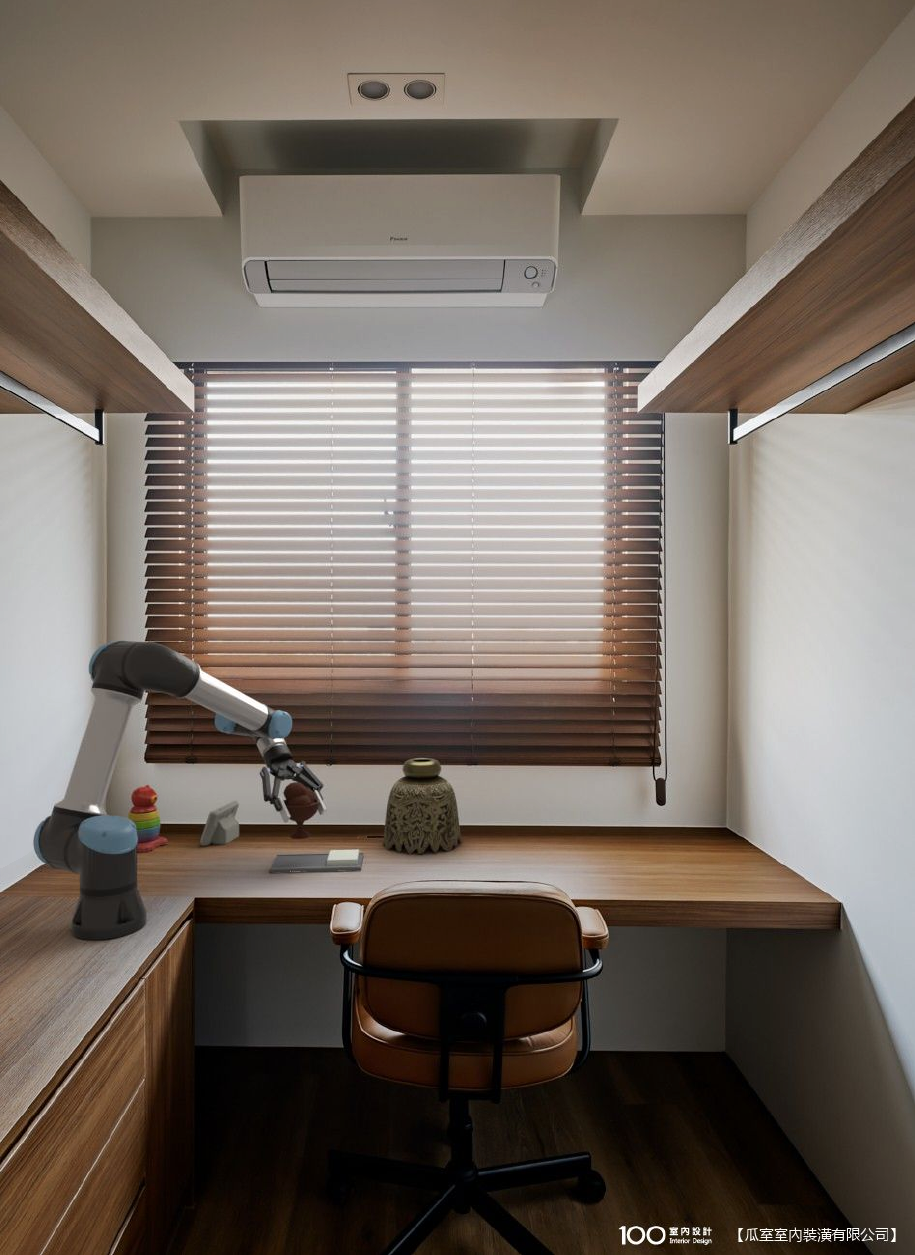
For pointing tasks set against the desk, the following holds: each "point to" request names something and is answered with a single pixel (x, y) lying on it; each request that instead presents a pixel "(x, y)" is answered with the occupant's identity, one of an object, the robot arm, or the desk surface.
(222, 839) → the digital clock
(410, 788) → the lamp shade
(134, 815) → the stacking bear
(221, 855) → the desk surface
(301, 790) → the ice cream bowl
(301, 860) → the tray
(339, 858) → the pale green flat block
